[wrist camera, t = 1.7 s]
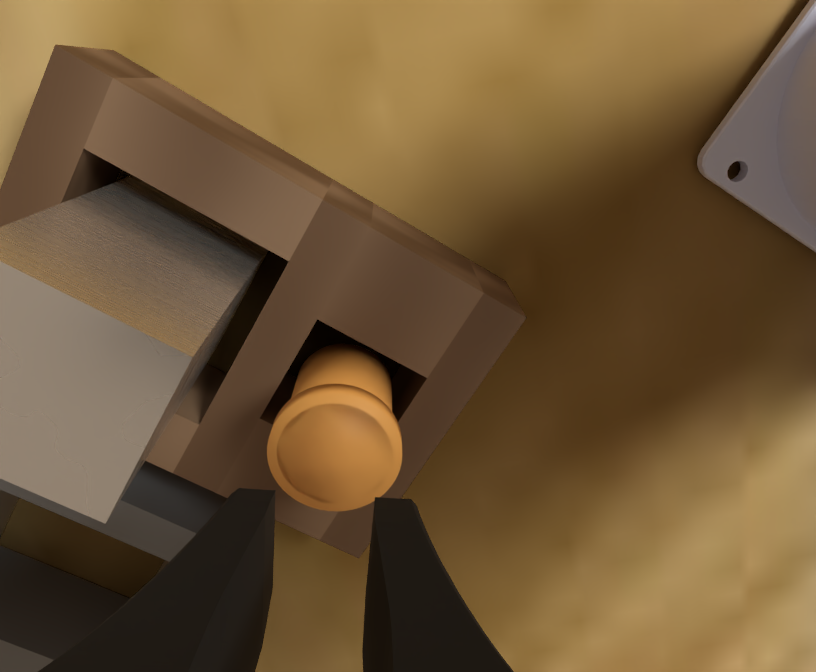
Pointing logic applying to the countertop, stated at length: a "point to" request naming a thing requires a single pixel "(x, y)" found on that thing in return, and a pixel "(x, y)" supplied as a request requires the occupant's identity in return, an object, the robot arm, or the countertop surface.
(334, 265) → the socket block
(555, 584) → the countertop surface
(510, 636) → the countertop surface
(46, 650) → the grey square frame
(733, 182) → the robot arm
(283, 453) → the pin
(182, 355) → the steel peg
